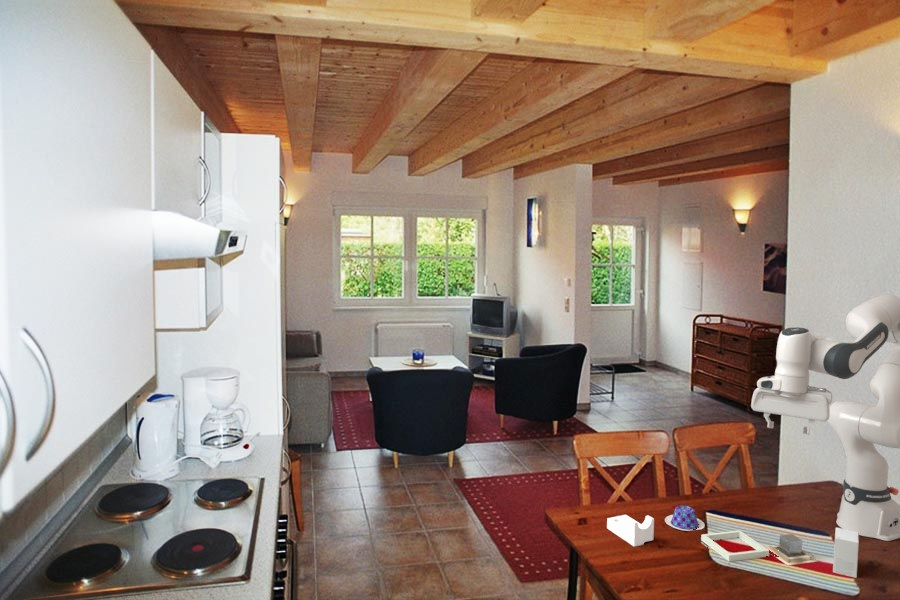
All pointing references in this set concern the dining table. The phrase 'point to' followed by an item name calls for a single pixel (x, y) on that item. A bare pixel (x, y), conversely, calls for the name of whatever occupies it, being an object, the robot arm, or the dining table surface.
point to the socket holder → (792, 560)
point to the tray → (757, 553)
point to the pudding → (684, 519)
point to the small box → (846, 552)
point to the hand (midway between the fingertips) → (788, 430)
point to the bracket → (632, 529)
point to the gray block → (790, 545)
